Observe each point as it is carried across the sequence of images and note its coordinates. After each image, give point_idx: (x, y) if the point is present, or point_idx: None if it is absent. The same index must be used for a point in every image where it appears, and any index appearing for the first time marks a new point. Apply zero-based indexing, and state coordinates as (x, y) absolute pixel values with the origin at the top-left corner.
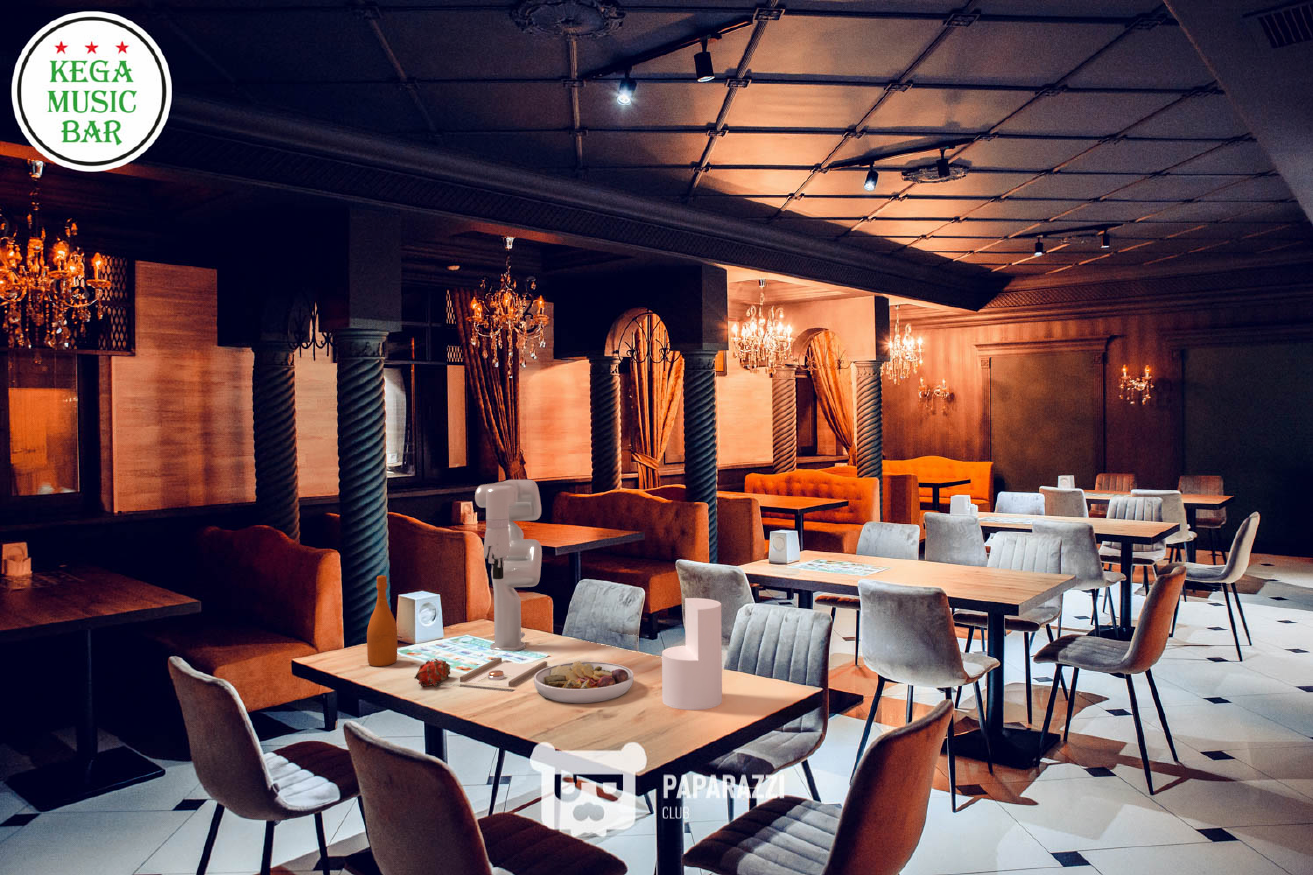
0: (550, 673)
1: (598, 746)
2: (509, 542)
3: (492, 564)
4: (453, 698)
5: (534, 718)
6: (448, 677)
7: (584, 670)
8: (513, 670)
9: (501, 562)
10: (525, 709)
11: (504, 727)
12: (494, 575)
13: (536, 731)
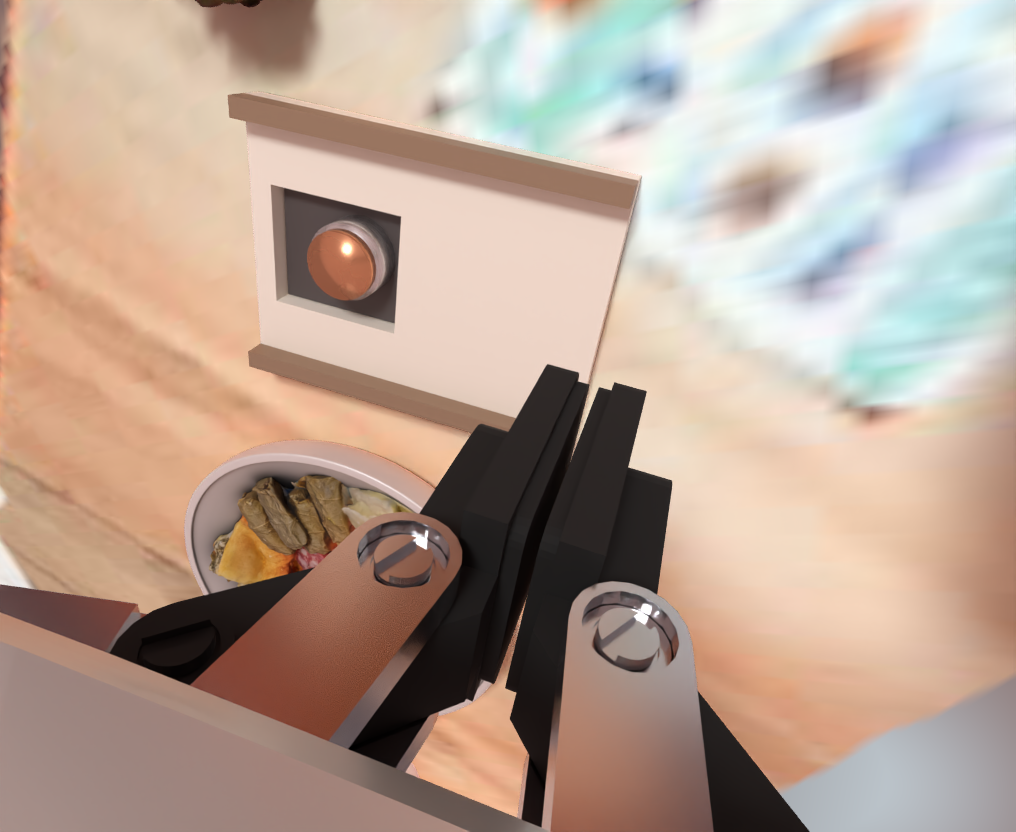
0: (368, 493)
1: (42, 583)
2: None
3: (243, 599)
4: (123, 132)
5: (101, 455)
6: (243, 4)
7: None
8: (478, 311)
9: (519, 814)
10: (146, 422)
11: (14, 392)
12: (476, 441)
13: (36, 469)
